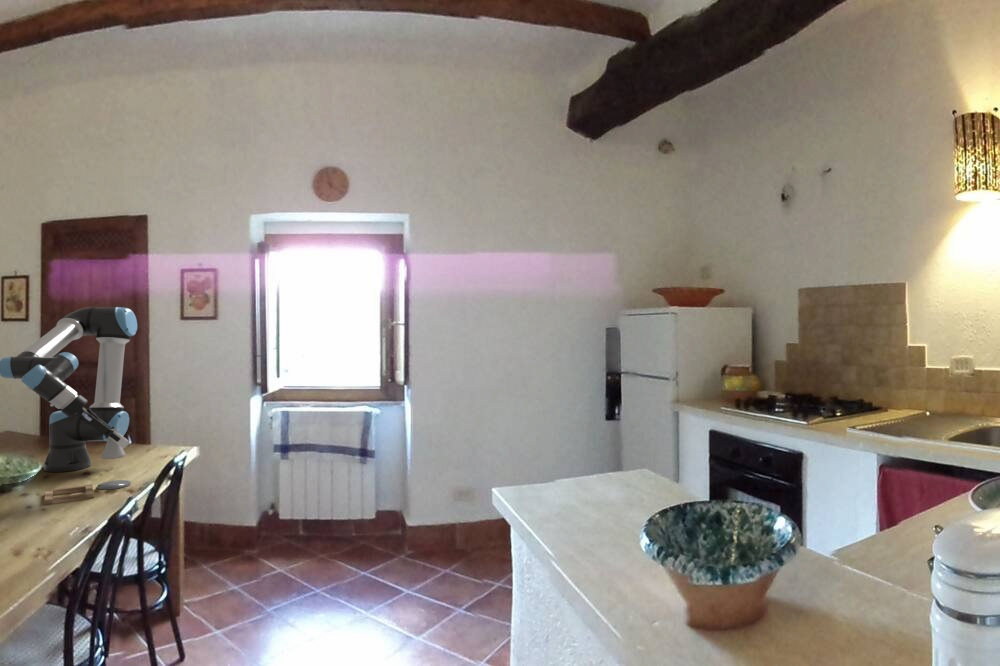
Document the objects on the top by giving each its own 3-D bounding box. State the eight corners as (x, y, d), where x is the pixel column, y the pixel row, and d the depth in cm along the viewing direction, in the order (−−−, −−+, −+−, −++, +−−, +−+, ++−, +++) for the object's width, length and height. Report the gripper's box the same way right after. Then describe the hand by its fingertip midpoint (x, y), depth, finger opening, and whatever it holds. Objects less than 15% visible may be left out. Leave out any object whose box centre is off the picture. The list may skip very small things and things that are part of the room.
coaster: (106, 482, 216) (106, 480, 216) (135, 481, 217) (135, 480, 217) (91, 490, 206) (91, 488, 206) (121, 489, 207) (121, 487, 207)
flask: (113, 460, 207) (113, 432, 206) (95, 459, 208) (95, 430, 208) (130, 456, 214) (130, 428, 214) (113, 454, 215) (113, 427, 215)
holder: (45, 494, 200) (45, 490, 200) (92, 488, 208) (92, 484, 208) (44, 504, 190) (44, 500, 190) (93, 498, 197) (93, 493, 197)
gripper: (59, 407, 208) (115, 448, 218) (59, 413, 195) (118, 457, 205) (78, 391, 211) (132, 433, 221) (79, 396, 198) (136, 440, 208)
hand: (125, 444), depth 213 cm, fingers closed on flask, 3 cm apart
